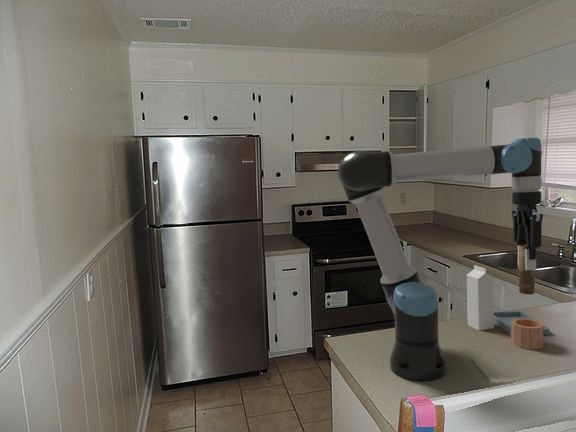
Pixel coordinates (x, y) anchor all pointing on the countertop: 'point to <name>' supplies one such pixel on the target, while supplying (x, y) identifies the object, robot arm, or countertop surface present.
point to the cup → (527, 333)
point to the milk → (480, 299)
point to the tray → (506, 317)
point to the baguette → (525, 275)
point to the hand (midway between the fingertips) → (526, 267)
